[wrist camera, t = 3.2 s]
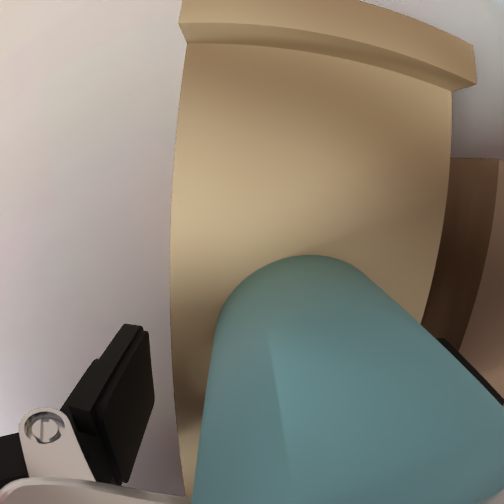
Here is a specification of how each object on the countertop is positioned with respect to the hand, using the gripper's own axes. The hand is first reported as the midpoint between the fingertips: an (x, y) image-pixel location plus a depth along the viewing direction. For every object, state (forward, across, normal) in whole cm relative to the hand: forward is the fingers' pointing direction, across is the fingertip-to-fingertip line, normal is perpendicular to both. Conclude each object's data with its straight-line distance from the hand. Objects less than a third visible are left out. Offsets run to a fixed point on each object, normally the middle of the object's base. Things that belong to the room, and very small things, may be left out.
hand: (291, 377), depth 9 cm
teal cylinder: (-2, 0, -2) cm, 3 cm away
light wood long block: (+3, 0, 0) cm, 3 cm away
